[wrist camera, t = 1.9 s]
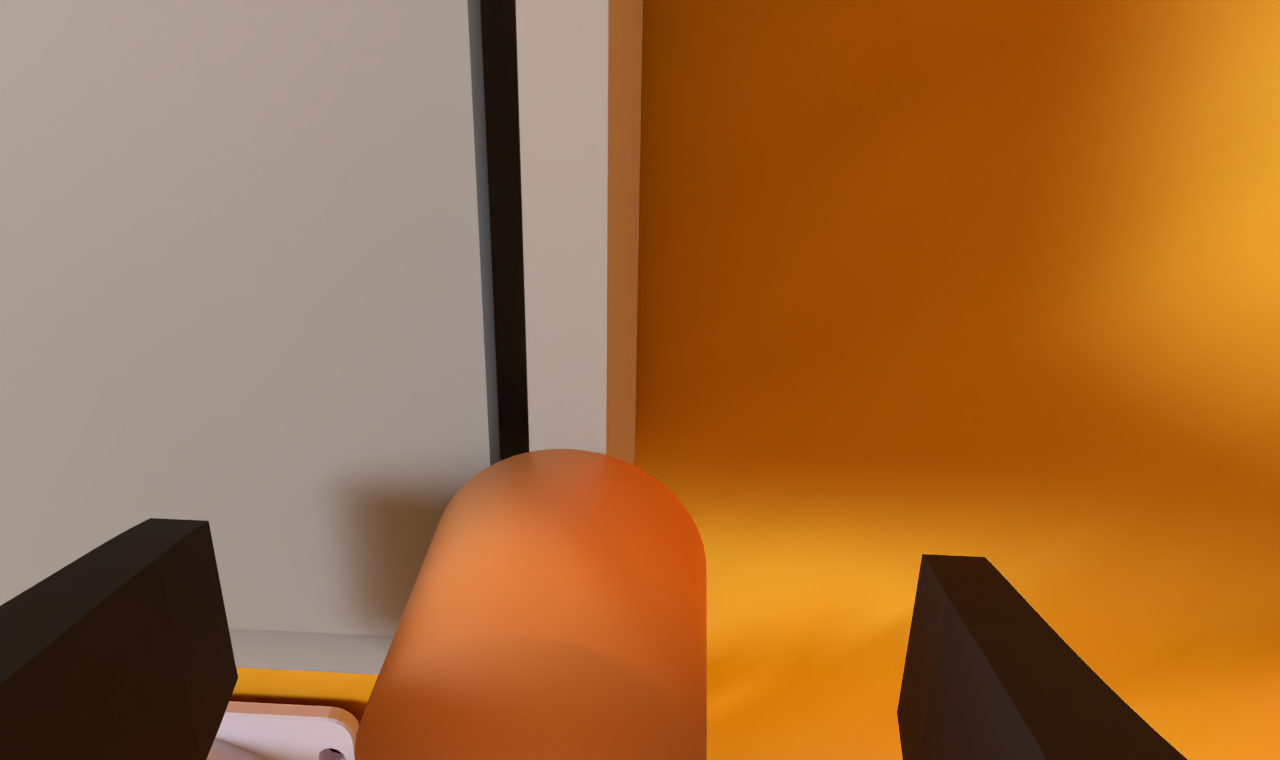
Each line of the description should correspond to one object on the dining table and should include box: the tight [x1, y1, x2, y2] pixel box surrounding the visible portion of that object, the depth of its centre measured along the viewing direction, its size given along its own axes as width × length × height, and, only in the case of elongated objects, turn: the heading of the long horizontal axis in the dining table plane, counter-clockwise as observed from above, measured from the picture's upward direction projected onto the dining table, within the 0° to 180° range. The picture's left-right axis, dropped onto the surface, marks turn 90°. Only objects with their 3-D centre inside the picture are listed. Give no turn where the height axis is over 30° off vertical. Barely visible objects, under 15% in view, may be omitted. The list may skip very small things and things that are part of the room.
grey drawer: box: [354, 0, 706, 760], centre depth 11 cm, size 15×3×9 cm, turn 179°
